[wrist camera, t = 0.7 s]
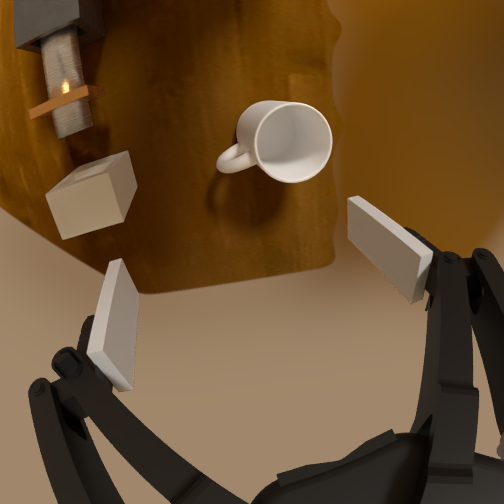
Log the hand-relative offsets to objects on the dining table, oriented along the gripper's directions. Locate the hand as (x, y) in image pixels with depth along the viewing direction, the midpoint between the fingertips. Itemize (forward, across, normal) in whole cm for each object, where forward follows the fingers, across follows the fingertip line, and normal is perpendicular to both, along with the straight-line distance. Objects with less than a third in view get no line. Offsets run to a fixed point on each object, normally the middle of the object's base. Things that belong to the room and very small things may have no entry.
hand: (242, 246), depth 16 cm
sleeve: (+24, -12, +24) cm, 36 cm away
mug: (+24, +7, +1) cm, 25 cm away
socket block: (+24, -13, +1) cm, 27 cm away
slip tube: (+20, -12, +18) cm, 29 cm away
